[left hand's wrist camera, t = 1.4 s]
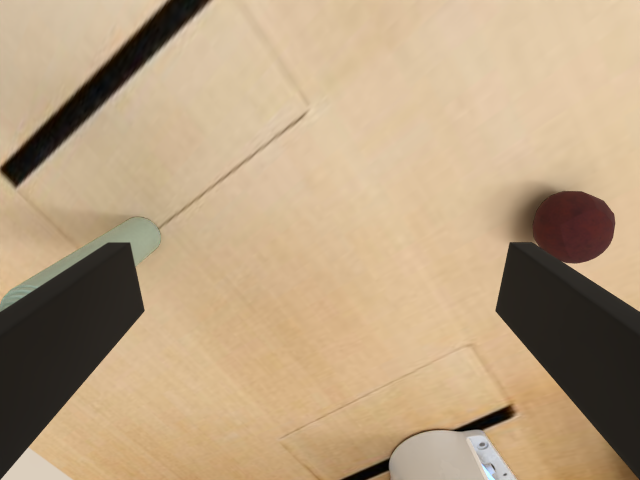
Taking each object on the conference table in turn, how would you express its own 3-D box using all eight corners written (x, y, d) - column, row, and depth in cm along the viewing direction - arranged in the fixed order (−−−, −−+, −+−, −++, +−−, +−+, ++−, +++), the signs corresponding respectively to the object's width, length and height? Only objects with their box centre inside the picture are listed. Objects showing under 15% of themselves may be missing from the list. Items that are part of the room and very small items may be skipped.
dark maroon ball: (534, 257, 42) (573, 285, 36) (508, 206, 40) (545, 226, 34) (593, 226, 41) (645, 249, 34) (571, 170, 39) (622, 184, 32)
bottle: (132, 209, 40) (-49, 309, 21) (167, 230, 41) (27, 345, 22) (116, 239, 42) (-68, 359, 22) (150, 259, 43) (4, 392, 23)
